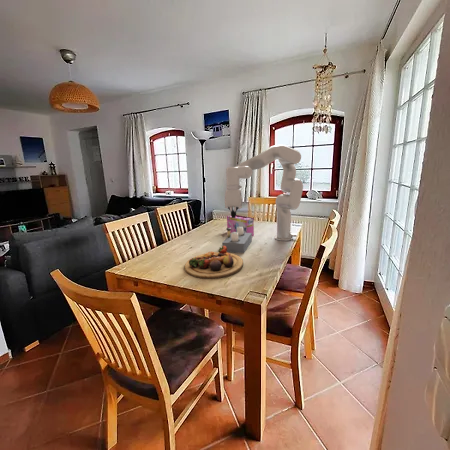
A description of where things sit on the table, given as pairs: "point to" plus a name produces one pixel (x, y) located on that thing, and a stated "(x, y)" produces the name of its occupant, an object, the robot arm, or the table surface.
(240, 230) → the knob
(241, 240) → the panel
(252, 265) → the table surface
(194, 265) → the wooden plate with food
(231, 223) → the gum box
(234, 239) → the knob
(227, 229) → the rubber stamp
